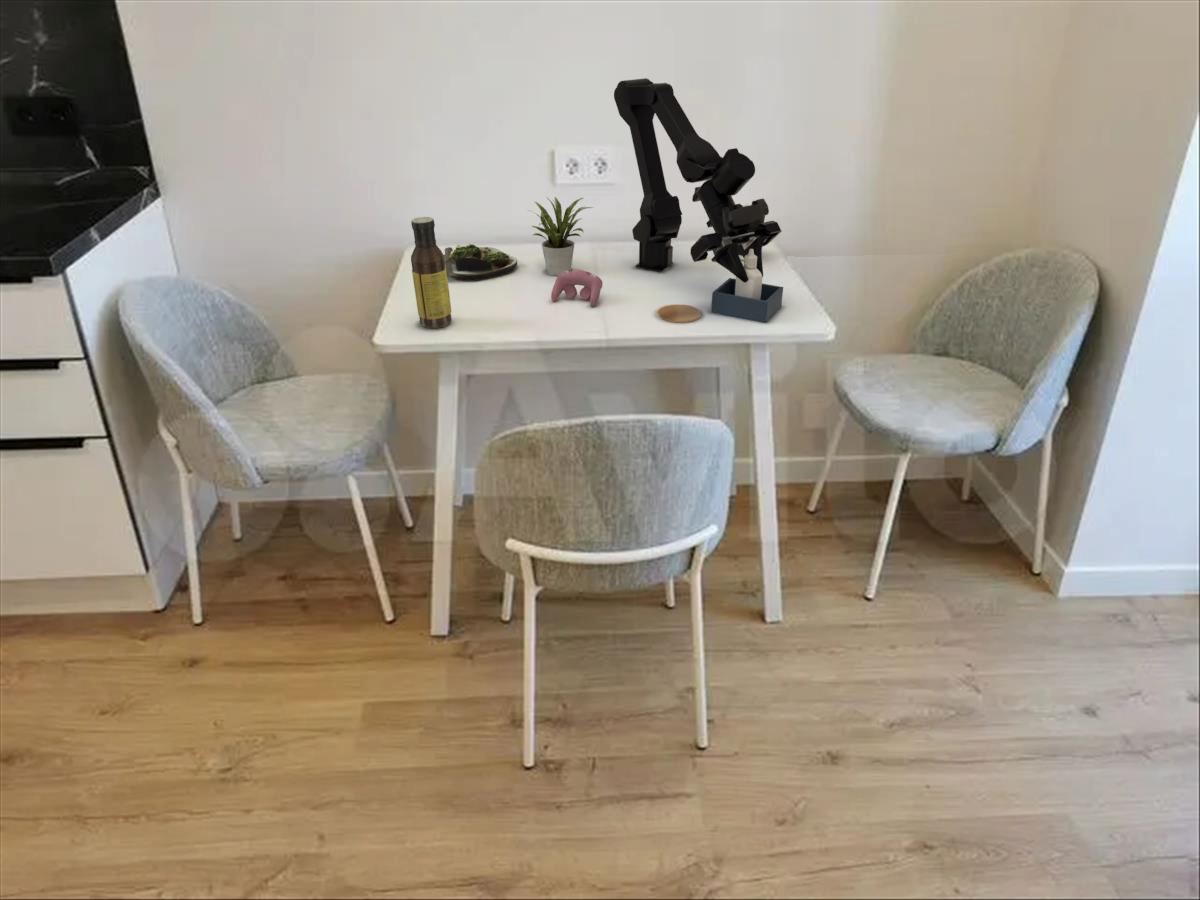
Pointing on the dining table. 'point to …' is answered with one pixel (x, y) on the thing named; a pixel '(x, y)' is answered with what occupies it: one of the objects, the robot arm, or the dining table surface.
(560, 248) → the house plant
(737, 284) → the eye dropper bottle
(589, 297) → the video game controller
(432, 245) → the sauce bottle
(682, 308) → the coaster
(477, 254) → the salad plate
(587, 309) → the dining table surface
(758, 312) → the tub
